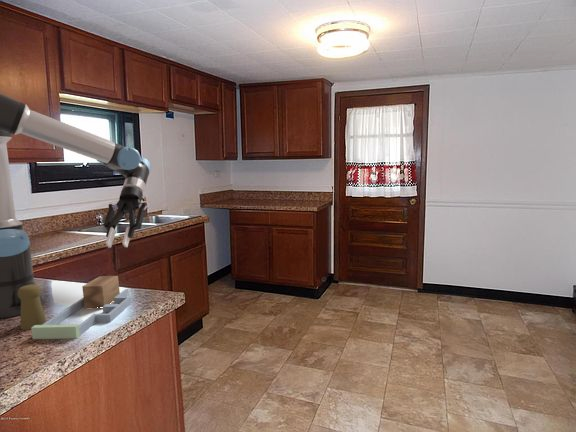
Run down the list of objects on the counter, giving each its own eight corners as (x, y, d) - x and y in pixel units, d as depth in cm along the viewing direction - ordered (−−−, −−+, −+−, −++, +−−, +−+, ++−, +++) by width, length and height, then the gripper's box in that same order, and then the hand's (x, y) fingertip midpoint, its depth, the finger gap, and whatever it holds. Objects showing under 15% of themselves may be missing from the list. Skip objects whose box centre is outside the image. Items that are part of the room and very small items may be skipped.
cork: (33, 330, 100) (28, 290, 99) (14, 329, 102) (8, 289, 100) (52, 320, 106) (47, 282, 105) (33, 319, 108) (28, 281, 106)
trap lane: (32, 339, 95) (31, 327, 95) (95, 295, 126) (94, 286, 125) (92, 338, 95) (91, 326, 95) (141, 294, 125) (140, 285, 125)
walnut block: (84, 309, 115) (82, 286, 114) (101, 297, 125) (99, 276, 124) (104, 308, 115) (102, 286, 114) (120, 296, 124) (118, 275, 123)
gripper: (159, 198, 146) (146, 250, 132) (112, 199, 146) (94, 251, 133) (153, 185, 140) (139, 238, 126) (104, 186, 140) (85, 239, 127)
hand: (116, 245), depth 129 cm, fingers open, 5 cm apart
